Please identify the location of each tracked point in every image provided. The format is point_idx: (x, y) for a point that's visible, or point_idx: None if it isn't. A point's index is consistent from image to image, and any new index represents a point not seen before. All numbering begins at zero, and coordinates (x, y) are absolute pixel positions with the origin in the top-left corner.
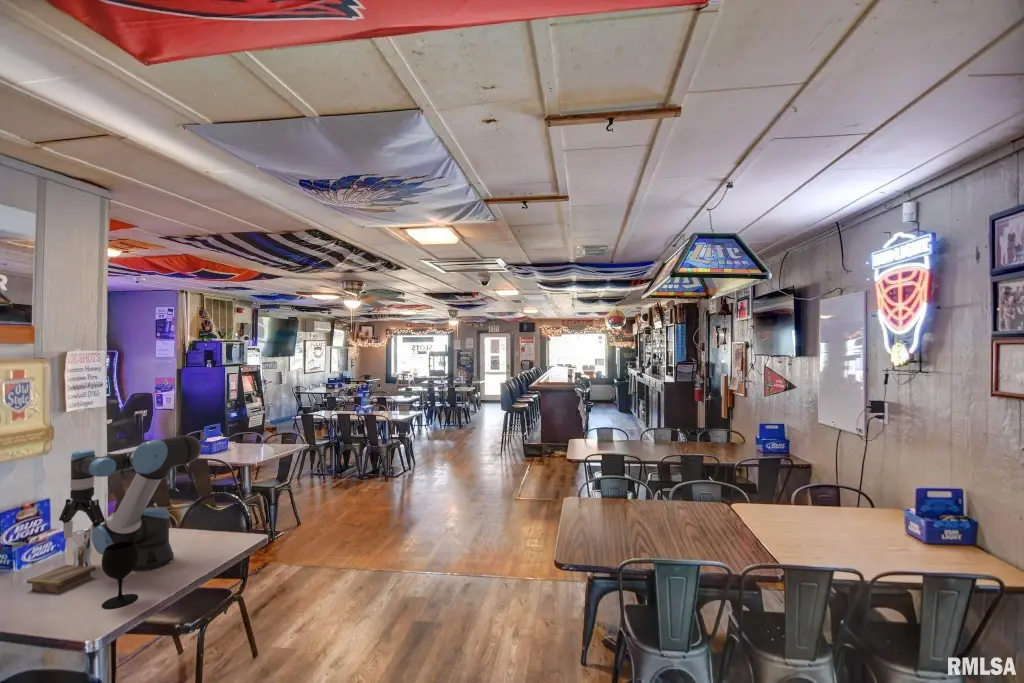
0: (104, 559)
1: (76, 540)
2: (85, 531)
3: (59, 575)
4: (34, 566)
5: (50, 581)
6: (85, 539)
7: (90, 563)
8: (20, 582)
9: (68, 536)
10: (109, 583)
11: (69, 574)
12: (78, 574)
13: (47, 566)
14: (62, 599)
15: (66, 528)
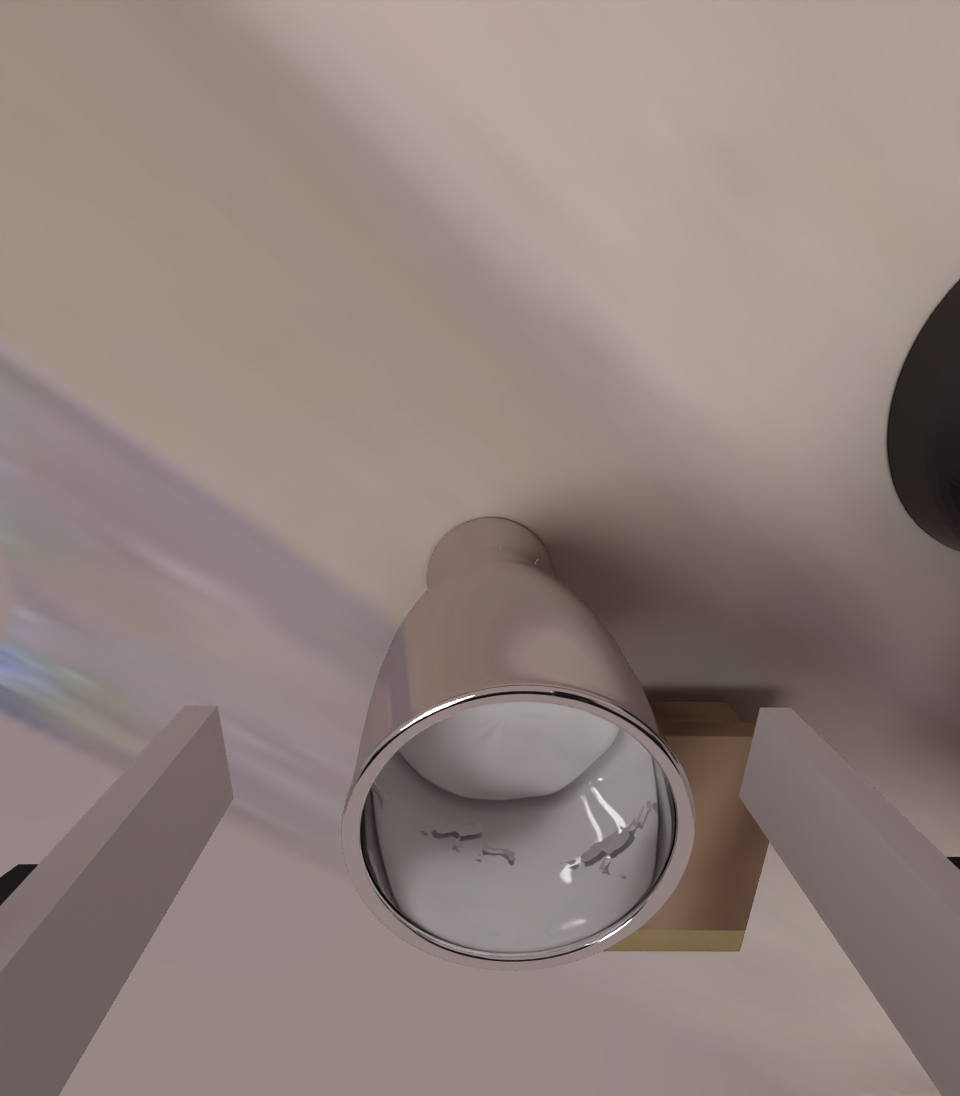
0: None
1: (530, 859)
2: (412, 700)
3: None
4: (40, 598)
5: (665, 941)
6: (627, 802)
7: (544, 557)
8: (294, 806)
9: (214, 779)
10: (928, 741)
11: (699, 856)
12: (767, 844)
13: (149, 583)
14: (793, 913)
15: (110, 995)
